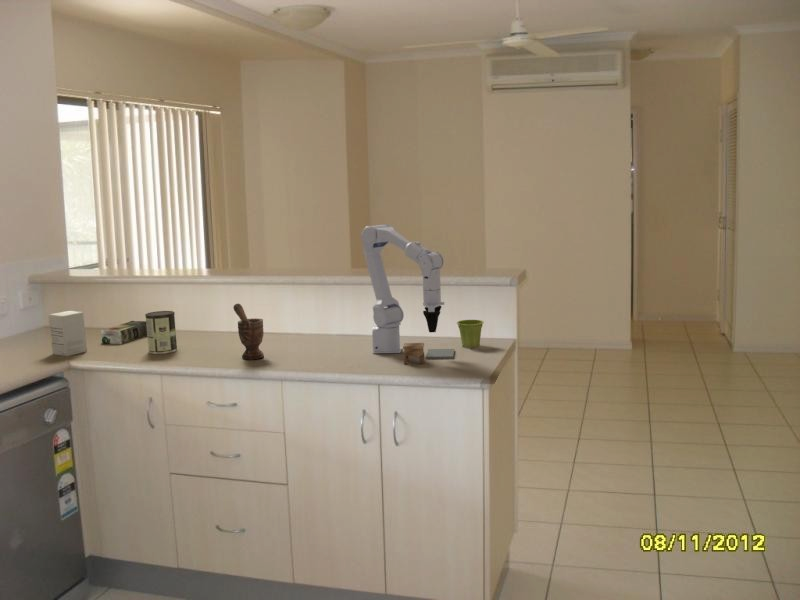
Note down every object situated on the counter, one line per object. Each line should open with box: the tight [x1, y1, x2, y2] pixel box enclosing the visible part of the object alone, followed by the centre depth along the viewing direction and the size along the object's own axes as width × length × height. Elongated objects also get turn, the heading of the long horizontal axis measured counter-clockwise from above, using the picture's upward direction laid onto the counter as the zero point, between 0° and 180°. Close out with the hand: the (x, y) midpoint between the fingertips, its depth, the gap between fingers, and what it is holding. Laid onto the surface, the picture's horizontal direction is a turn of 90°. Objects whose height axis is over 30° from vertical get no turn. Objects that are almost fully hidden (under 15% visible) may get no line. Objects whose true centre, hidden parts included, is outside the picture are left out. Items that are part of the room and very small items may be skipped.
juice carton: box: [100, 320, 148, 345], centre depth 349 cm, size 20×10×6 cm, turn 160°
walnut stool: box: [402, 342, 425, 365], centre depth 290 cm, size 6×5×6 cm
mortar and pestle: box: [233, 303, 265, 361], centre depth 304 cm, size 12×9×20 cm
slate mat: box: [425, 348, 455, 360], centre depth 301 cm, size 9×12×1 cm
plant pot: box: [456, 319, 484, 349], centre depth 313 cm, size 9×9×9 cm
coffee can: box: [144, 310, 178, 355], centre depth 323 cm, size 10×10×14 cm
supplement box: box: [48, 310, 88, 357], centre depth 325 cm, size 9×9×15 cm
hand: (433, 329), depth 295 cm, fingers open, 7 cm apart
